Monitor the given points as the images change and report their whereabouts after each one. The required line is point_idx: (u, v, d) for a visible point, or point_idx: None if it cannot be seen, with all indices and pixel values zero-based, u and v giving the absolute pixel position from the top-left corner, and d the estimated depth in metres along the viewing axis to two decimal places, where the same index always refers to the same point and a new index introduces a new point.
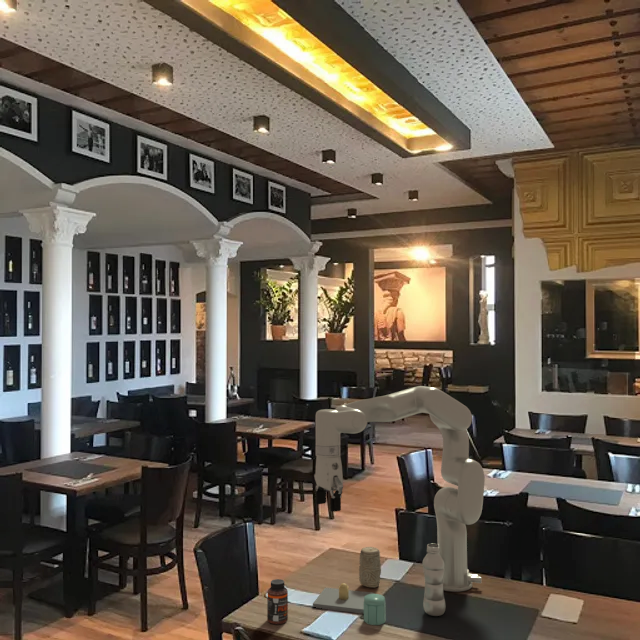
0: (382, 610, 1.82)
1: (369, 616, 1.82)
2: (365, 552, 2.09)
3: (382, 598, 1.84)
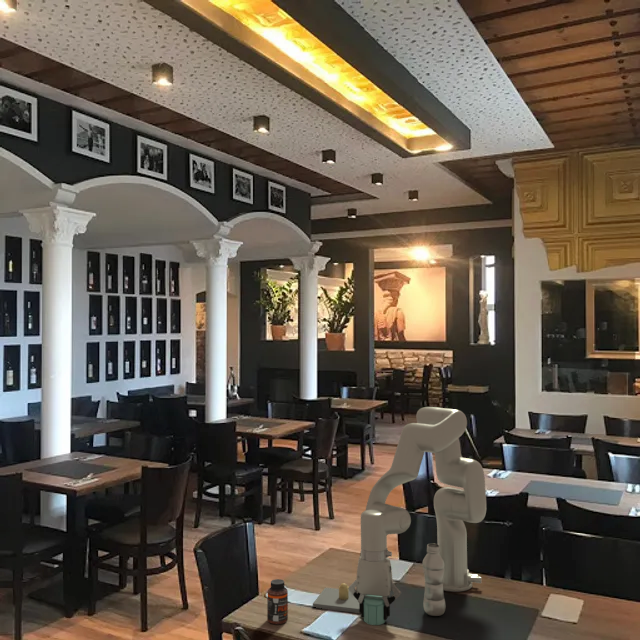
0: (382, 610, 1.82)
1: (369, 616, 1.82)
2: None
3: (382, 598, 1.84)
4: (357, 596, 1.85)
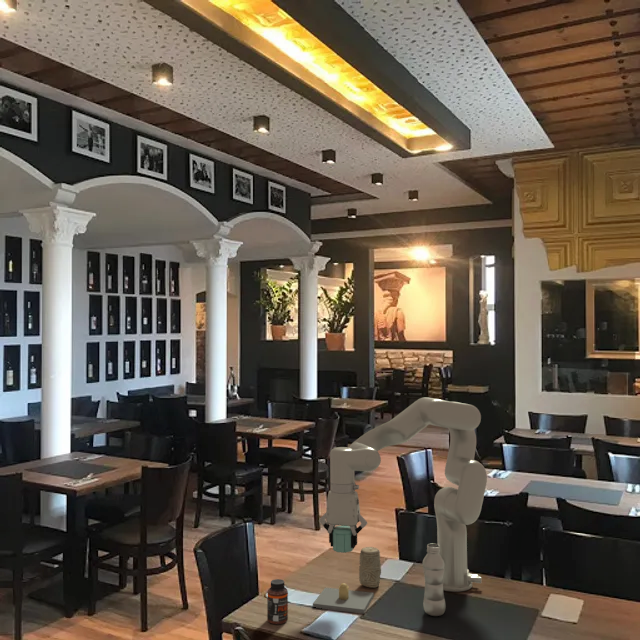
0: (349, 539, 1.96)
1: (337, 544, 1.95)
2: (365, 552, 2.09)
3: (350, 528, 1.98)
4: (327, 527, 1.99)
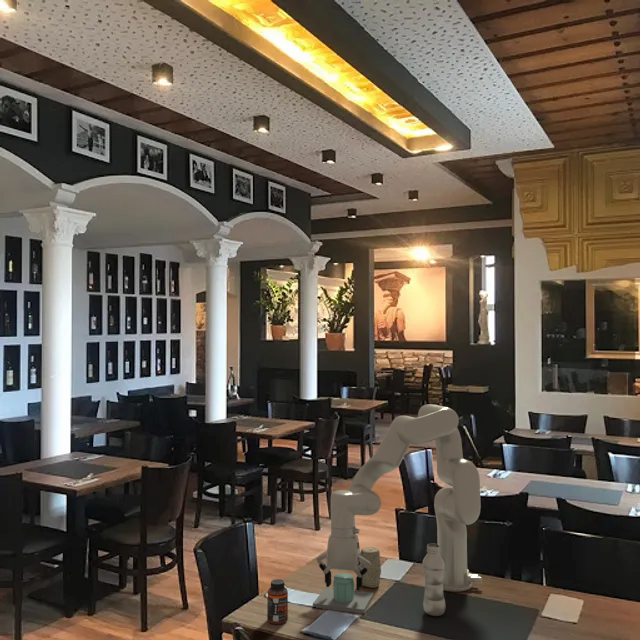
0: (350, 588, 1.95)
1: (338, 594, 1.95)
2: (365, 552, 2.09)
3: (351, 577, 1.97)
4: (322, 568, 1.99)
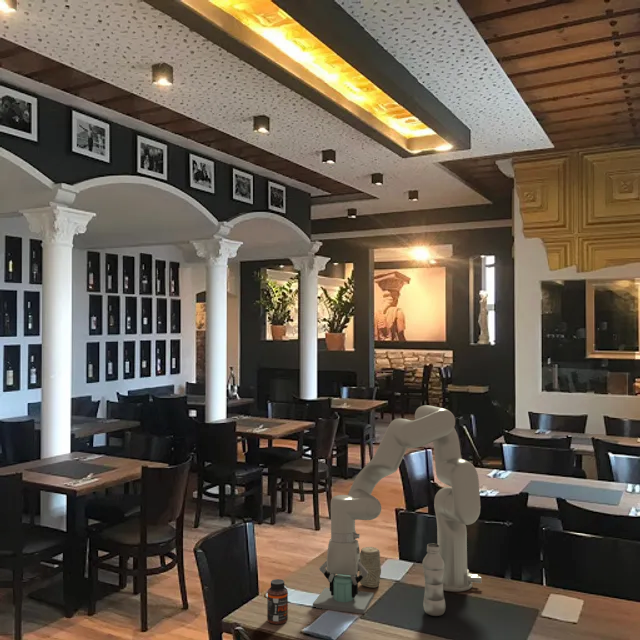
0: (350, 588, 1.95)
1: (338, 594, 1.95)
2: (365, 552, 2.09)
3: (350, 577, 1.97)
4: (327, 575, 1.98)
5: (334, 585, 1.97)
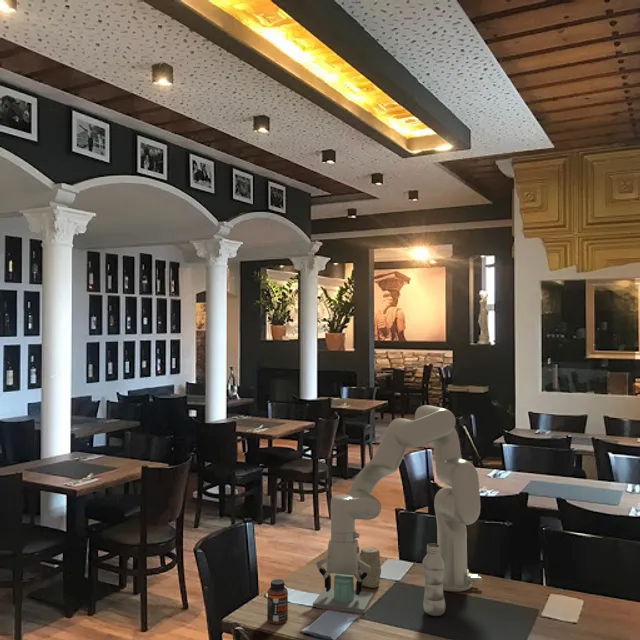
0: None
1: (348, 594, 1.95)
2: (365, 552, 2.09)
3: (348, 575, 1.99)
4: (322, 572, 1.99)
5: (342, 587, 1.95)
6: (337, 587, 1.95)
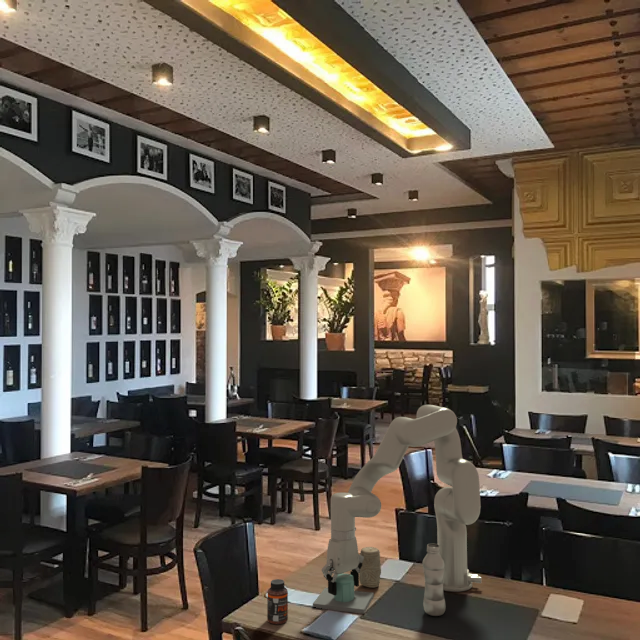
0: None
1: (353, 591, 1.97)
2: (365, 552, 2.09)
3: (341, 574, 2.00)
4: (329, 577, 1.93)
5: (351, 586, 1.96)
6: (346, 588, 1.95)
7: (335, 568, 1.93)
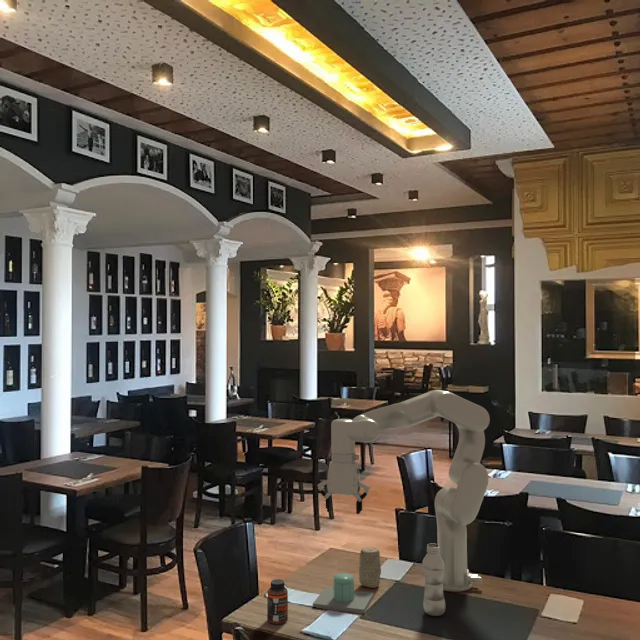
0: None
1: (353, 591, 1.97)
2: (365, 552, 2.09)
3: (341, 574, 2.00)
4: (323, 494, 2.05)
5: (351, 586, 1.96)
6: (346, 588, 1.95)
7: (327, 486, 2.03)
